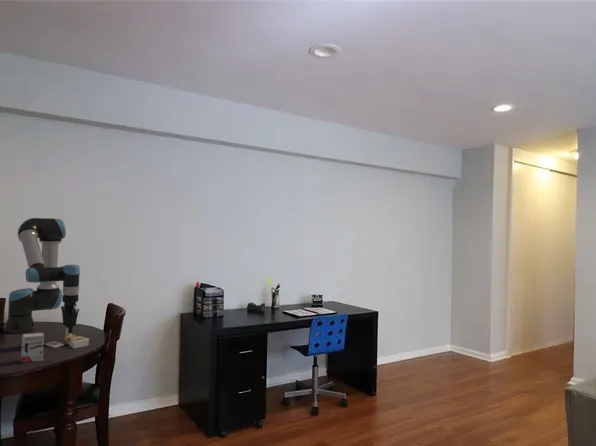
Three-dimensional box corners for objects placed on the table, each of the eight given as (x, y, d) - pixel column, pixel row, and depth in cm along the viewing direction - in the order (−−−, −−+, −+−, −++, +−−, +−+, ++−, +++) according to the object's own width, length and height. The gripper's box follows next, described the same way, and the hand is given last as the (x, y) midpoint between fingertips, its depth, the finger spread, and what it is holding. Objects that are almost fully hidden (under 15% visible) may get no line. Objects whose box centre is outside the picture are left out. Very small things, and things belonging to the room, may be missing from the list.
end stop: (71, 347, 228) (71, 341, 228) (86, 344, 235) (86, 338, 235) (73, 348, 227) (74, 342, 227) (88, 345, 234) (88, 339, 234)
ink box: (21, 363, 202) (22, 336, 202) (20, 360, 206) (22, 334, 206) (43, 360, 206) (44, 334, 206) (42, 357, 210) (43, 332, 210)
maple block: (64, 344, 234) (64, 336, 234) (73, 342, 238) (74, 335, 238) (71, 346, 231) (71, 338, 231) (80, 344, 235) (80, 336, 235)
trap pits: (45, 345, 231) (45, 343, 231) (80, 338, 247) (80, 336, 247) (54, 347, 227) (54, 345, 227) (89, 340, 243) (89, 338, 243)
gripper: (56, 293, 237) (54, 338, 237) (70, 296, 230) (69, 342, 230) (70, 292, 243) (68, 335, 243) (84, 294, 236) (82, 340, 236)
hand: (68, 339), depth 236 cm, fingers closed
